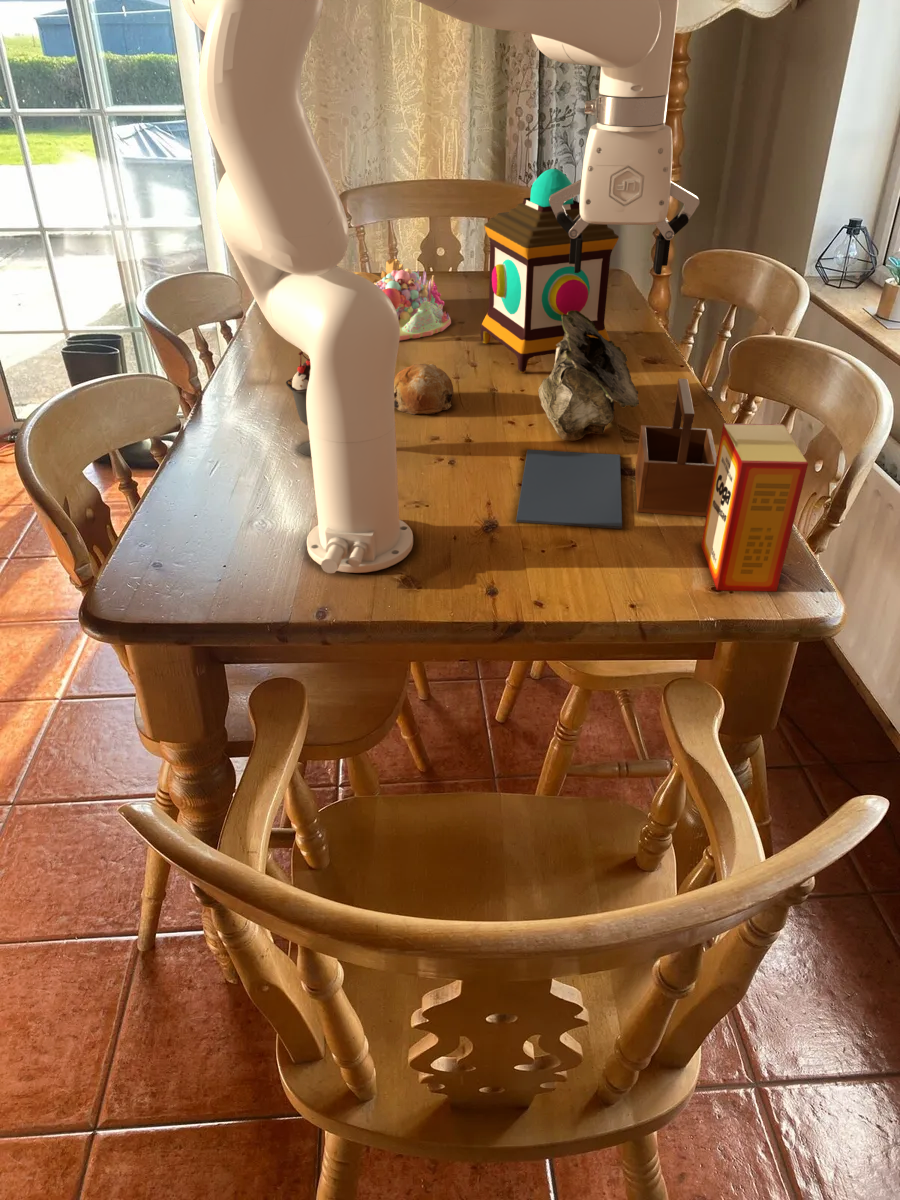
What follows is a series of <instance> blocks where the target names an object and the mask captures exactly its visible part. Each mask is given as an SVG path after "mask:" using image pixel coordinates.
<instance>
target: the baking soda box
mask: <svg viewBox="0 0 900 1200" xmlns="http://www.w3.org/2000/svg"><path fill="white" fill-rule="evenodd" d="M808 465H809V462H808V461H807V459H806V458H805V456H804V455H803V453H802V451H801V450H800V448H799V447H798V445H797V443H796V441H795V440H794V439H793V437H792V435H791V434H790V432H789V431H788V429H787V427H786V425H785V424H784V423H783V424H782V423H781V424H780V423H722V429H721V435H720V440H719V445H718V451H717V461H716V466H715V472H714V477H713V483H712V488H711V494H710V499H709V505H708V510H707V516H705V522H704V527H703V533H702V537H701V538H702V539H701V544H700V546H701V550H702V552H703V555H704V557H705V560H706V564H707V566H708V569H709V572H710V574H711V577H712V580H713V584H714V586H715V589H716V591H734V592H777V591H778V587H779V584H780V579H781V577H782V576H781V575H782V572H783V567H784V563H785V559H786V555H787V552H788V547H789V544H790V539H791V535H792V530H793V526H794V523H795V519H796V514H797V512H798V507H799V502H800V498H801V494H802V490H803V486H804V483H805V478H806V474H807V470H808Z"/></svg>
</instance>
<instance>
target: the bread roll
mask: <svg viewBox="0 0 900 1200" xmlns="http://www.w3.org/2000/svg"><path fill="white" fill-rule="evenodd" d="M453 398H454V385H453V382H452V380H451V378H450V376H449V375H448V374H447V373H446V371H444V370H443V369H442V368H438V367H437V365H435V364H434V363H432V364H431V363H430V364H427V363H415V364H413V365H409V366H407V367H405V368H403V369H401V370H400V371H399V372H398V373H396V374H395V378H394V409H395V410H397V411H399V412H402V413H406V414H410V415H411V416H412V415H413V416H416V415H419V414H420V415H423V414H424V415H431V414H438V413H440V412H442V411H448V410H449V409H450V408H452V401H453Z"/></svg>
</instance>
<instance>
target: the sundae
mask: <svg viewBox="0 0 900 1200" xmlns="http://www.w3.org/2000/svg"><path fill="white" fill-rule="evenodd" d="M297 354H298V355H299V366H297V368H296V369H297V372H296V373H295V374H294V375H293V377H292V378H289V379H288V380H285V385H286V386H287V388H288V389H289V390H290V391H291V392H292V396H293V399H294V403H295V408H296V411H297V415H298V417H299V420H300V421H301V422H302V423H303V424H304V425H305V426H307V427H308V422H307V411H306V394H307V387H308V382H309V377H310V370H311V363H310V358H308V357H307V356H305V354H304V352H303V351H302V350H300V352H298V353H297ZM302 357H304V359H306V361H305V362H303V363H302ZM298 450H299V452H300V453H301V454H302V455H304V456H307V457H311V447H310V441H307V442H304V443H303V444H301V445H300V446H299V449H298Z"/></svg>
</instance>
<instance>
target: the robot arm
mask: <svg viewBox="0 0 900 1200" xmlns="http://www.w3.org/2000/svg"><path fill="white" fill-rule="evenodd" d="M415 1H416V2H418V3H420V4H422V5H425V6H428V7H430V8H432V9H434V10H436V11H438V12H440V13H443V14H445V15H447V16H449V17H451V18H453V19H456V20H459V21H461V22H464V23H468V24H472V25H475V26H480V27H483V28H487V29H494V30H499V31H508V32H517V33H524V34H528V35H529V34H530V35H531V38H532V41H533V43H534V44H535V46H536V47H537V49H538V51H540V52H541V53H542V54H543V55H544V56H545V57H547V58H549V59H551V60H552V61H555V62H559V63H562V64H570V65H578V66H579V65H580V66H592V67H600V75H599V87H598V88H599V90H598V96H596V97H595V99H591V100H585V103H584V115H590V116H591V117H594V119H596V123H595V124H592V125H591V126H590V128H589V130H588V135H587V139H586V144H585V150H584V157H583V161H582V162H583V163H582V171H581V178H580V179H578V180H577V181H575V182H573V183H572V184H571V185H569V186H567V187H565V188H563V189H561V190H560V191H558V192H556V193H554V194H552V195H551V196H550V197H549V203H550V205H551V208H552V210H553V212H554V215H555V217H556V219H557V222H558V223H559V224H560V225H561V226H562V228H563V229H564V230H565V231H566V232H567V233H568V234H569V236H570V238H571V240H570V256H569V264H575V266H574V273H579V272H580V271H581V257H582V243H583V236H582V235H581V232H582V231H583V230H584V229H585V228H586V227H587V226H588V224H589V223H591V224H607V225H610V226H611V225H616V226H618V225H619V226H620V225H621V226H654V225H655V227H656V228H657V230H658V231H659V233H658V235H656V240H655V247H654V257H653V265H652V268H653V271H654V274H655V275H658V276H661V275H662V272H663V271H662V269H663V266H664V267H666V266H668V264H669V256H670V246H671V241H672V240H673V239H674V237H675V236H676V235H677V234H678V233H679V232H680V231H681V230H682V229H683V228H684V227H685V226H687V224H688V223H689V221H690V219H691V218H692V216H693V215H694V213H695V212H696V210H697V209H698V207H699V206H700V203H701V202H700V199H699V197H698V196H697V195H695V194H694V193H692V192H691V191H689V190H687V189H685V188H683V187H682V186H681V185H678V184H677V183H675V182H673V181H672V173H673V172H672V171H673V131H672V127H671V126H670V125H667V124H666V118H667V109H668V99H669V91H670V81H671V80H670V79H671V72H672V65H673V64H672V63H673V54H674V46H675V38H676V37H675V36H676V28H677V21H678V20H677V19H678V10H679V2H680V1H679V0H415ZM181 3H182V4H183V7H184V9H185V11H186V13H187V15H188V16H189V17H190V20H191V21H192V22H193V23H194V24H195V25H196V26H197V27H198V28H199V30H201V31H202V32H203V33H204V37H203V41H202V48H201V53H200V60H199V72H198V89H199V99H200V105H201V111H202V114H203V118H204V121H205V124H206V127H207V129H208V133H209V134H210V137H211V140H212V142H213V145H214V147H215V149H216V151H217V153H218V156H219V158H220V160H221V163H222V165H223V168H224V170H225V173H224V174H223V175H222V177H221V179H220V181H219V183H218V187H217V191H216V197H215V210H216V212H215V213H216V215H217V216H216V217H217V221H218V225H219V229H220V231H221V235H222V236H223V237H222V238H223V239H224V241H225V243H226V246H227V247H228V250H229V252H230V253H231V255H232V257H233V259H234V261H235V263H236V265H237V267H238V270H239V271H240V273H241V275H242V276H243V278H244V281H245V282H246V285H247V287H248V289H249V290H250V292H251V294H252V296H253V298H254V300H255V302H256V303H257V305H258V307H259V309H260V311H261V313H262V314H263V316H264V318H265V319H266V321H267V322H268V324H269V325H270V327H271V328H272V329H273V330H274V331H275V333H277V334H278V335H279V337H281V338H282V339H284V340H285V341H286V342H288V343H289V344H291V345H293V346H294V347H296V348H297V349H300V351H302V352H303V354H306V355H307V356H308V359H310V363H311V370H310V377H309V382H308V387H307V394H306V411H307V422H308V426H307V429H308V436H309V442H310V447H311V456H310V457H311V466H312V476H313V487H314V495H315V505H316V506H315V507H316V515H317V524H316V525H315V526H314V527H313V528H312V529H311V530H310V531H309V533H308V535H307V537H306V549H307V552H308V555H309V557H310V558H311V559H312V560H313V561H314V562H316V563H317V564H318V565H320V568H321V569H322V570H323V572H325V573H326V574H335V573H336V572H341V573H346V574H347V573H349V574H350V573H351V574H361V573H362V574H363V573H372V572H377V571H382V570H384V569H385V570H386V569H387V568H390V567H393V566H394V565H397V564H399V563H400V562H401V561H403V560H404V559H405V558H407V556H408V555H410V553H411V552H412V550H413V545H414V535H413V530H412V529H411V527H410V526H409V525H408V524H407V522H405V521H403V520H402V519H400V503H399V481H398V456H397V433H396V432H397V431H396V430H397V429H396V416H395V414H396V413H395V407H394V378H395V376H396V366H397V365H396V364H397V359H398V354H399V346H400V340H399V339H400V326H399V319H398V315H397V312H396V310H395V307H394V305H393V304H392V302H391V300H390V299H389V297H388V296H387V295H386V294H385V293H384V292H383V291H382V290H381V289H380V288H379V287H378V286H376V285H375V284H374V283H372V282H371V281H369V280H367V279H366V278H364V277H361V276H359V275H357V274H355V273H353V272H354V271H351V270H349V269H347V268H343V267H341V266H339V264H340V263H341V261H342V260H343V258H344V257H345V255H346V253H347V250H348V247H349V240H350V239H349V238H350V233H349V232H350V229H349V221H348V217H347V215H346V211H345V208H344V205H343V203H342V199H341V198H340V195H339V192H338V190H337V188H336V186H335V184H334V181H333V178H332V175H331V174H330V171H329V169H328V166H327V164H326V162H325V159H324V157H323V155H322V152H321V150H320V147H319V144H318V142H317V140H316V138H315V135H314V133H313V129H312V127H311V124H310V121H309V117H308V115H307V112H306V109H305V104H304V101H303V95H302V88H301V87H302V84H301V78H302V71H303V70H302V68H303V64H304V59H305V55H306V52H307V50H308V46H309V44H310V41H311V39H312V37H313V34H314V32H315V30H316V28H317V26H318V23H319V21H320V17H321V14H322V11H323V5H324V0H181ZM577 196H579V203H580V205H579V206H580V214H579V215H578V216H577V217H576V218H575V219H574V221H573V220H572V218H571V217H570V216H569V215H568V214H567V213H566V211H565V209H564V206H563V203H564V202H566V201H567V200H569V199H571V198H573V199H574V198H575V197H577ZM670 197H672V198H674V199H675V200H677V201H678V202H679V203H682V204H683V205H682V208H681V210H680V212H678V213H677V214H676V215H675V216H674V217H673V218H672V219H671V220H670V221H669V220H668V218H667V216H668V213H669V208H670V207H669V206H670Z"/></svg>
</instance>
